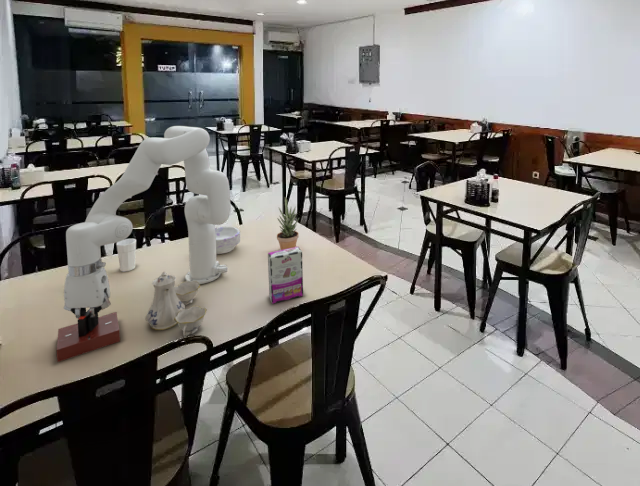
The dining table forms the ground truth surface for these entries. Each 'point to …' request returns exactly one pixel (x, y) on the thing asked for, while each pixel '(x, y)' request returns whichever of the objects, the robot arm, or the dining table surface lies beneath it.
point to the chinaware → (174, 305)
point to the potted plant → (287, 229)
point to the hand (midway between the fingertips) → (88, 327)
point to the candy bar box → (285, 274)
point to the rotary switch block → (87, 337)
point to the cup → (126, 254)
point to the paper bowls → (226, 239)
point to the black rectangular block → (83, 324)
